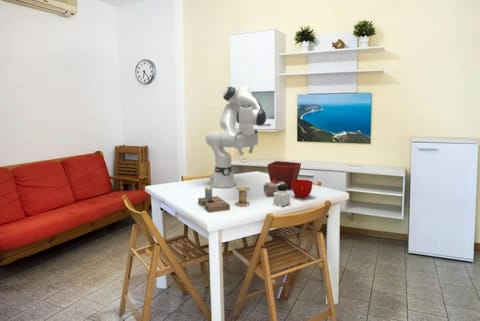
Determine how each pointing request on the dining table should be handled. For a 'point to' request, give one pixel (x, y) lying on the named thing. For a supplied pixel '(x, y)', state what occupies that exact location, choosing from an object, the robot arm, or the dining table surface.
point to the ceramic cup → (301, 188)
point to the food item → (271, 187)
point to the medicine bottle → (281, 195)
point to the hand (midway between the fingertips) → (246, 154)
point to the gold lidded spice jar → (208, 195)
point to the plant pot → (284, 172)
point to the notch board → (214, 204)
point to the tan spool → (242, 196)
